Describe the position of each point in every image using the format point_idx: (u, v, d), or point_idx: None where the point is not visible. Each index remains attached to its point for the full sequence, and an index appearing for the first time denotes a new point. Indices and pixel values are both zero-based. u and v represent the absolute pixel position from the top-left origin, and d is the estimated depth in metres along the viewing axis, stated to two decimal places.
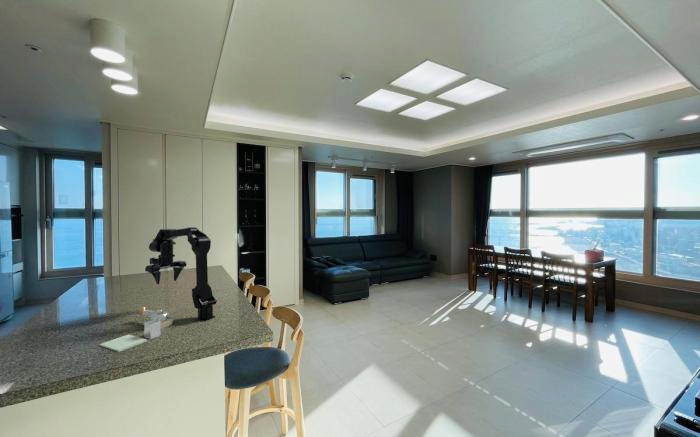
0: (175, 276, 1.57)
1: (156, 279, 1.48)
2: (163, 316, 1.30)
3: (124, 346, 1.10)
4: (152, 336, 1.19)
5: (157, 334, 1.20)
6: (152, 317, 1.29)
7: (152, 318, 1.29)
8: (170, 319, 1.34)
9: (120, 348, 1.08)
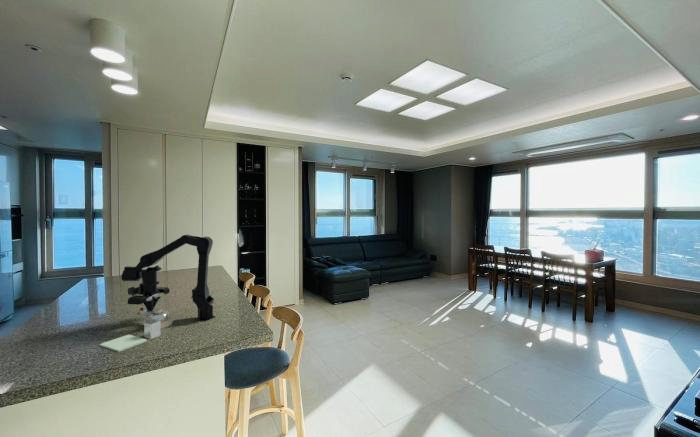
0: None
1: (149, 308, 1.36)
2: (164, 316, 1.31)
3: (124, 346, 1.10)
4: (152, 336, 1.19)
5: (157, 334, 1.20)
6: (152, 317, 1.29)
7: (152, 318, 1.29)
8: (170, 319, 1.34)
9: (120, 348, 1.08)
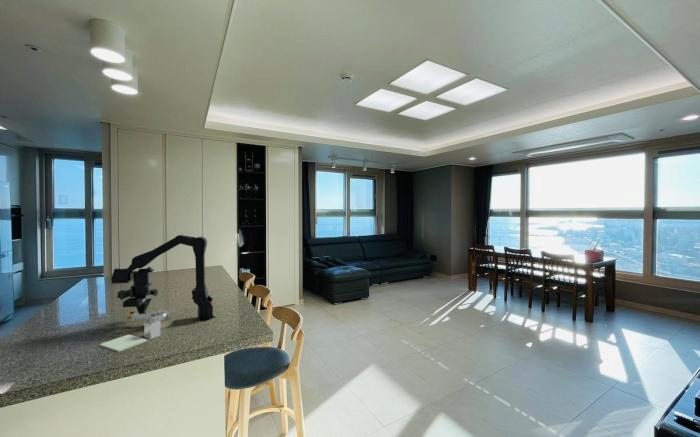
0: None
1: (141, 310, 1.32)
2: (167, 315, 1.32)
3: (124, 346, 1.10)
4: (152, 336, 1.19)
5: (157, 334, 1.20)
6: (156, 317, 1.29)
7: (156, 318, 1.29)
8: (170, 319, 1.34)
9: (120, 348, 1.08)
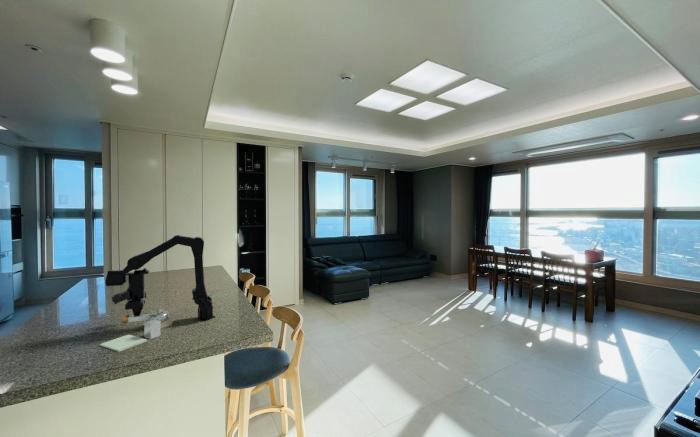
0: None
1: (137, 313, 1.29)
2: (168, 314, 1.33)
3: (124, 346, 1.10)
4: (152, 336, 1.19)
5: (157, 334, 1.20)
6: (159, 317, 1.29)
7: (159, 318, 1.29)
8: (170, 319, 1.34)
9: (120, 348, 1.08)
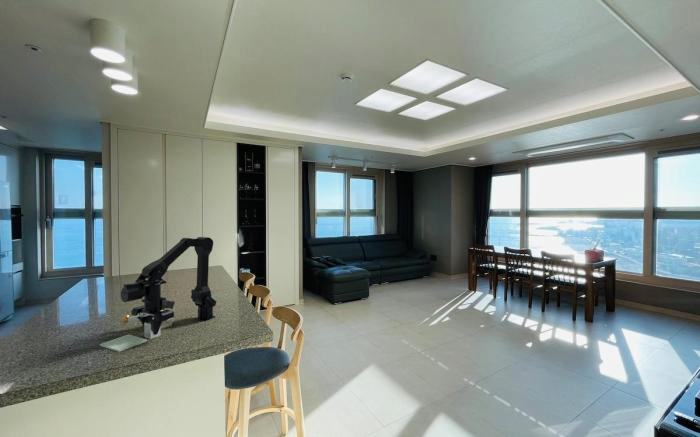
0: None
1: None
2: None
3: (124, 346, 1.10)
4: (152, 336, 1.19)
5: (157, 334, 1.20)
6: None
7: None
8: (170, 319, 1.34)
9: (120, 348, 1.08)
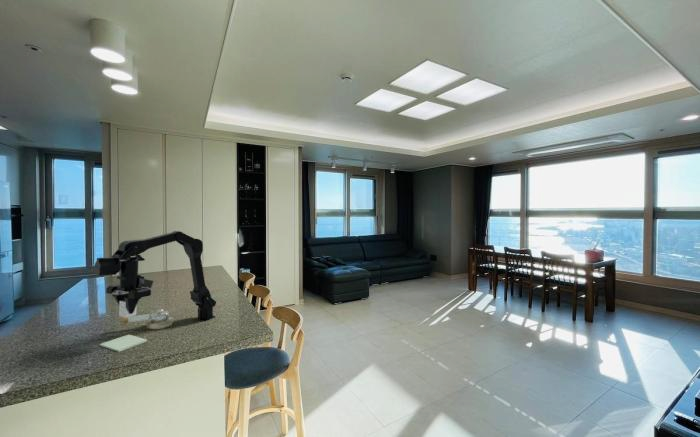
0: None
1: None
2: (168, 314, 1.33)
3: (124, 346, 1.10)
4: (127, 315, 1.12)
5: (133, 313, 1.14)
6: (159, 317, 1.29)
7: (159, 318, 1.29)
8: (170, 319, 1.34)
9: (120, 348, 1.08)
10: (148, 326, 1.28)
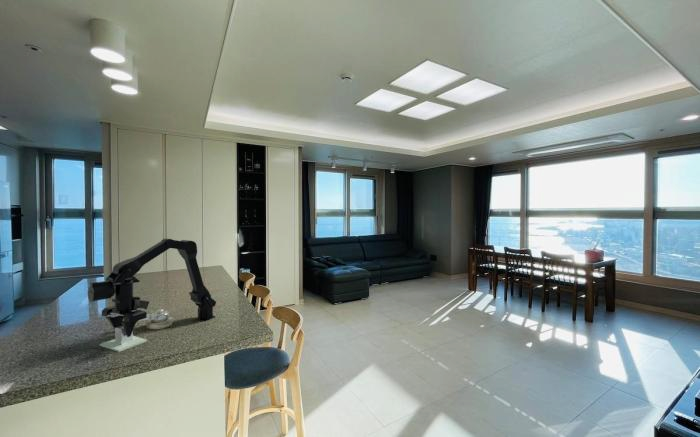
0: None
1: None
2: (168, 314, 1.33)
3: (124, 346, 1.10)
4: (123, 342, 1.11)
5: (129, 340, 1.13)
6: (159, 317, 1.29)
7: (159, 318, 1.29)
8: (170, 319, 1.34)
9: (120, 348, 1.08)
10: (148, 326, 1.28)
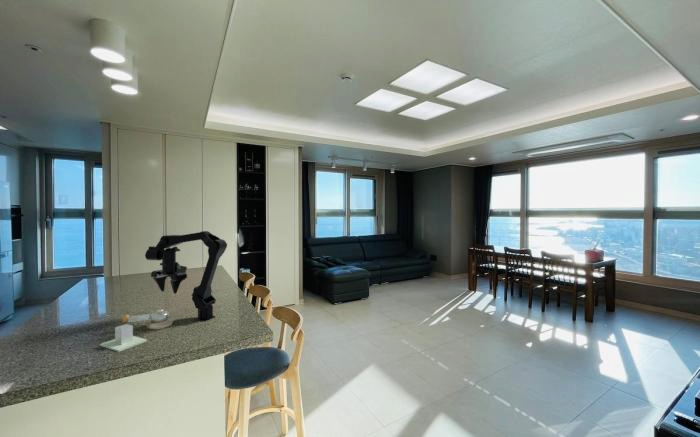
0: None
1: None
2: (168, 314, 1.33)
3: (124, 346, 1.10)
4: (123, 342, 1.11)
5: (129, 340, 1.13)
6: (159, 317, 1.29)
7: (159, 318, 1.29)
8: (170, 319, 1.34)
9: (120, 348, 1.08)
10: (148, 326, 1.28)
